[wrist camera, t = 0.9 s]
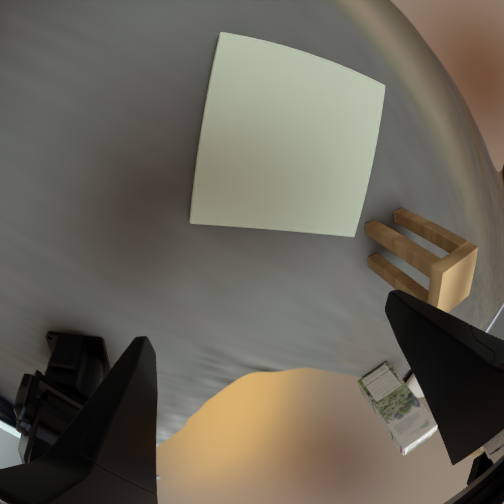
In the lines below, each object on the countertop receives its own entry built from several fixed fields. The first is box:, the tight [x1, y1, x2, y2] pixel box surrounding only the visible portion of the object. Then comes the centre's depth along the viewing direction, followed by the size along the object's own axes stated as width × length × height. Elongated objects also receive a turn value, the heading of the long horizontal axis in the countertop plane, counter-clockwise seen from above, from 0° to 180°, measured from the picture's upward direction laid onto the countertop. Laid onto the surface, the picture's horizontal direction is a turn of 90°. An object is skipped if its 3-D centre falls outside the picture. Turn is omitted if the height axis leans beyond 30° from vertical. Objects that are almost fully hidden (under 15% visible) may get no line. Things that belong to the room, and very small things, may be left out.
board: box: [189, 32, 385, 237], centre depth 19 cm, size 14×14×1 cm
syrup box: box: [358, 361, 438, 455], centre depth 31 cm, size 6×6×14 cm
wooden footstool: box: [365, 208, 478, 313], centre depth 21 cm, size 5×5×10 cm
